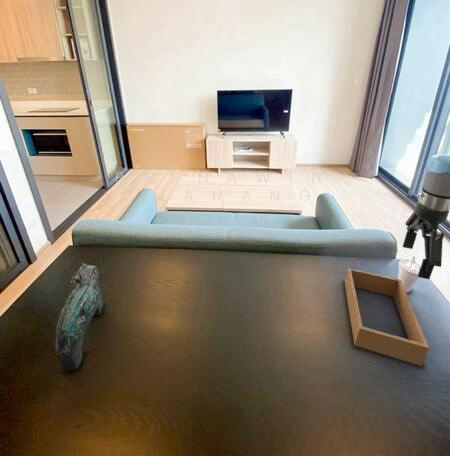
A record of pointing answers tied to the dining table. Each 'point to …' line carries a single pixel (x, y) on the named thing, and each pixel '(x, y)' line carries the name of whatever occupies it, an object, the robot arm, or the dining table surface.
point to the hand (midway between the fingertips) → (414, 261)
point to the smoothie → (408, 273)
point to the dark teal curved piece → (77, 316)
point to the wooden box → (380, 341)
